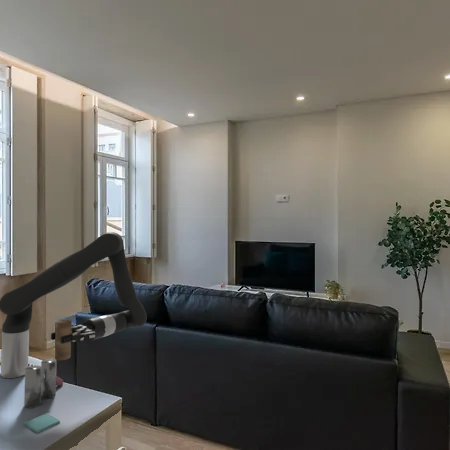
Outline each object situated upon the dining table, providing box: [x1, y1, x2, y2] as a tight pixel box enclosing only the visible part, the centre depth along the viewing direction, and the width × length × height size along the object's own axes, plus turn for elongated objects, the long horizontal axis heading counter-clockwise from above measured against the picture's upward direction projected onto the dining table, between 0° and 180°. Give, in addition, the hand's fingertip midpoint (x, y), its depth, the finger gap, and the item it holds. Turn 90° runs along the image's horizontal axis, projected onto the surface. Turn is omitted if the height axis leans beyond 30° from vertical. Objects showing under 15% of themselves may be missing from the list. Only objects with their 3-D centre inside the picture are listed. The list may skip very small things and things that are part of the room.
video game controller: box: [56, 375, 64, 387], centre depth 135 cm, size 10×5×7 cm, turn 63°
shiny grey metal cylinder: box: [40, 358, 58, 400], centre depth 127 cm, size 5×5×12 cm
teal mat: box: [24, 412, 61, 434], centre depth 111 cm, size 7×7×1 cm
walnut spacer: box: [54, 319, 73, 361], centre depth 122 cm, size 5×5×12 cm
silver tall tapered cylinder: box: [23, 365, 42, 409], centre depth 121 cm, size 5×5×12 cm
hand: (56, 338), depth 120 cm, fingers closed on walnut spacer, 4 cm apart
